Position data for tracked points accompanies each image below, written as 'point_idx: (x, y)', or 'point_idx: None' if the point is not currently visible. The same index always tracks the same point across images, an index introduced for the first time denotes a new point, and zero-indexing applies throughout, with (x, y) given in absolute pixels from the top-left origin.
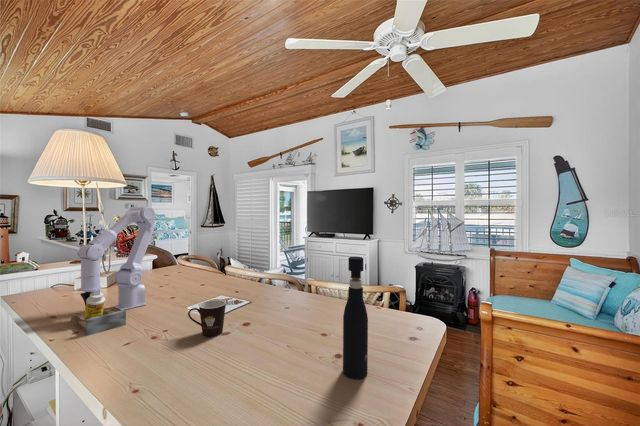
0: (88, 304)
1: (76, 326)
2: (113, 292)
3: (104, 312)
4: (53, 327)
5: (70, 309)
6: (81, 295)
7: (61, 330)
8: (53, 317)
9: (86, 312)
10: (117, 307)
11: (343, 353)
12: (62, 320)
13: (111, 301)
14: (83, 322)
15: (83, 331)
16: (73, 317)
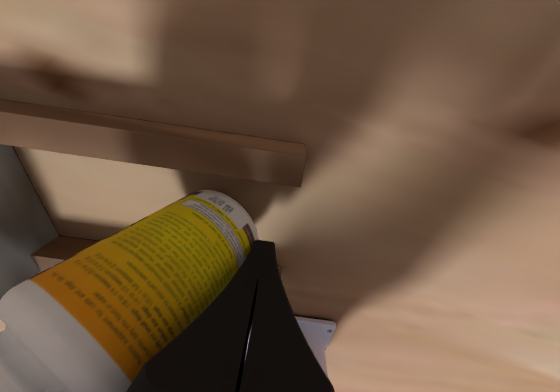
0: (37, 276)
1: (178, 126)
2: (537, 386)
3: None
4: (300, 23)
5: (557, 239)
6: (264, 389)
7: (172, 32)
8: (542, 123)
9: (154, 217)
10: (298, 321)
11: None
12: (398, 130)
13: (429, 344)
14: (87, 147)
15: (21, 103)
16: (270, 158)
